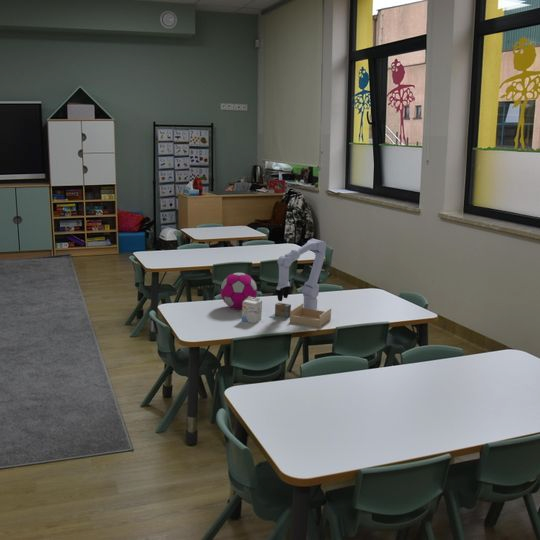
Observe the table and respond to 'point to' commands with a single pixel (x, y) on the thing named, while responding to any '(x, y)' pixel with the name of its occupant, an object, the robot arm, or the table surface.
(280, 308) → the walnut block
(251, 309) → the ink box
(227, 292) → the soccer ball
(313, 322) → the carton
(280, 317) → the teal mat
